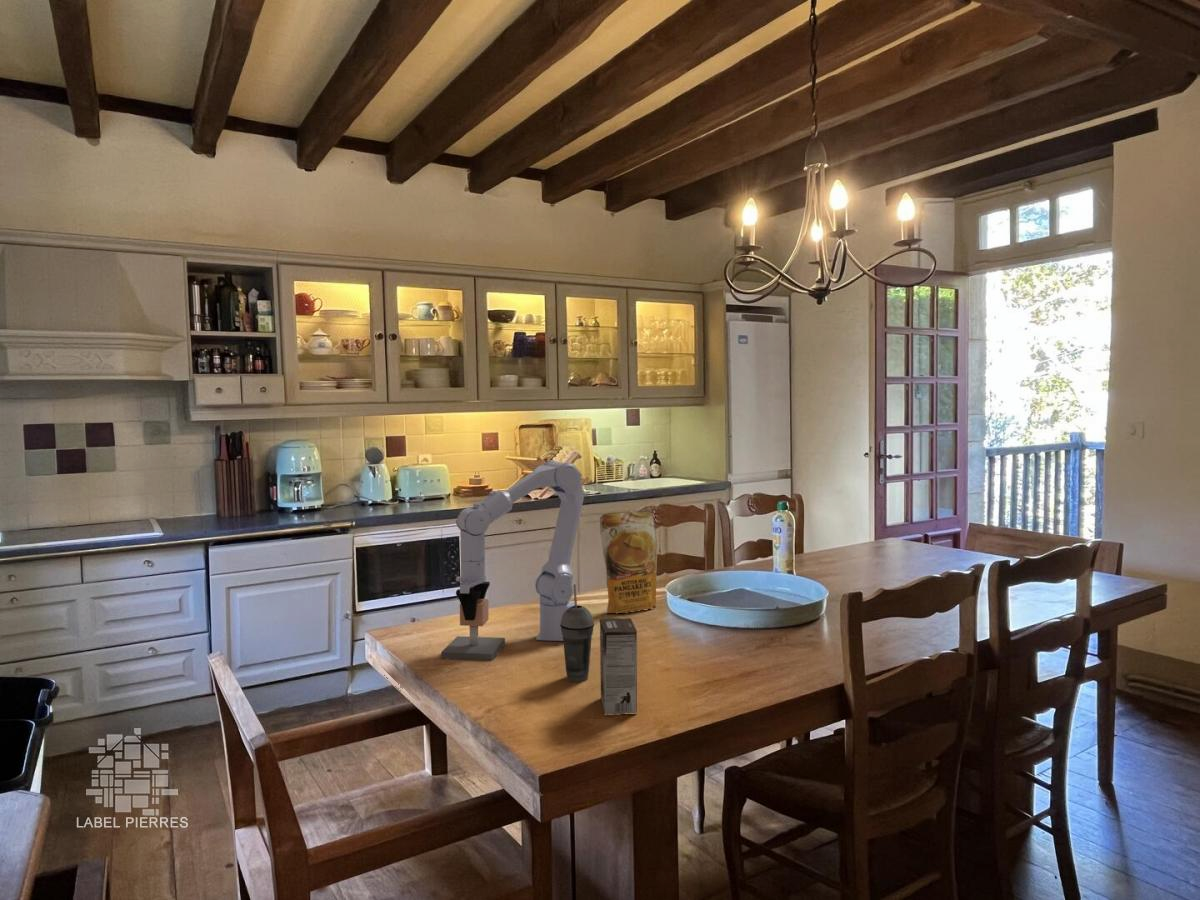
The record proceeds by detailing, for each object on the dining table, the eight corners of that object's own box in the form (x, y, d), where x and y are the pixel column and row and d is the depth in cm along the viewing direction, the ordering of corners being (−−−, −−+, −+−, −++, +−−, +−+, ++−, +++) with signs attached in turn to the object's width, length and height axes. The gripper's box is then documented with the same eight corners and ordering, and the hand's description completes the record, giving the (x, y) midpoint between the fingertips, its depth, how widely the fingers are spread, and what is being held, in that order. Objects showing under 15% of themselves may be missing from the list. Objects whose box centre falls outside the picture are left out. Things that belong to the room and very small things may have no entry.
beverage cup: (569, 686, 157) (568, 591, 155) (554, 675, 163) (554, 583, 162) (600, 680, 160) (600, 587, 159) (585, 669, 166) (584, 580, 165)
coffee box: (599, 697, 151) (599, 617, 150) (631, 696, 151) (631, 616, 150) (603, 716, 142) (603, 631, 141) (637, 715, 142) (637, 630, 141)
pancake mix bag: (594, 611, 214) (594, 512, 212) (652, 602, 222) (652, 508, 221) (605, 617, 208) (605, 515, 206) (664, 608, 216) (664, 511, 215)
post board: (505, 643, 185) (504, 619, 184) (492, 660, 173) (492, 634, 172) (457, 642, 186) (456, 618, 186) (441, 658, 174) (441, 632, 174)
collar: (488, 619, 181) (488, 599, 181) (482, 626, 176) (482, 605, 176) (466, 618, 182) (466, 598, 182) (459, 625, 177) (459, 604, 176)
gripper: (465, 553, 186) (466, 607, 187) (446, 565, 171) (447, 624, 172) (493, 553, 185) (494, 608, 186) (476, 566, 171) (477, 625, 171)
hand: (473, 616), depth 179 cm, fingers closed on collar, 5 cm apart
